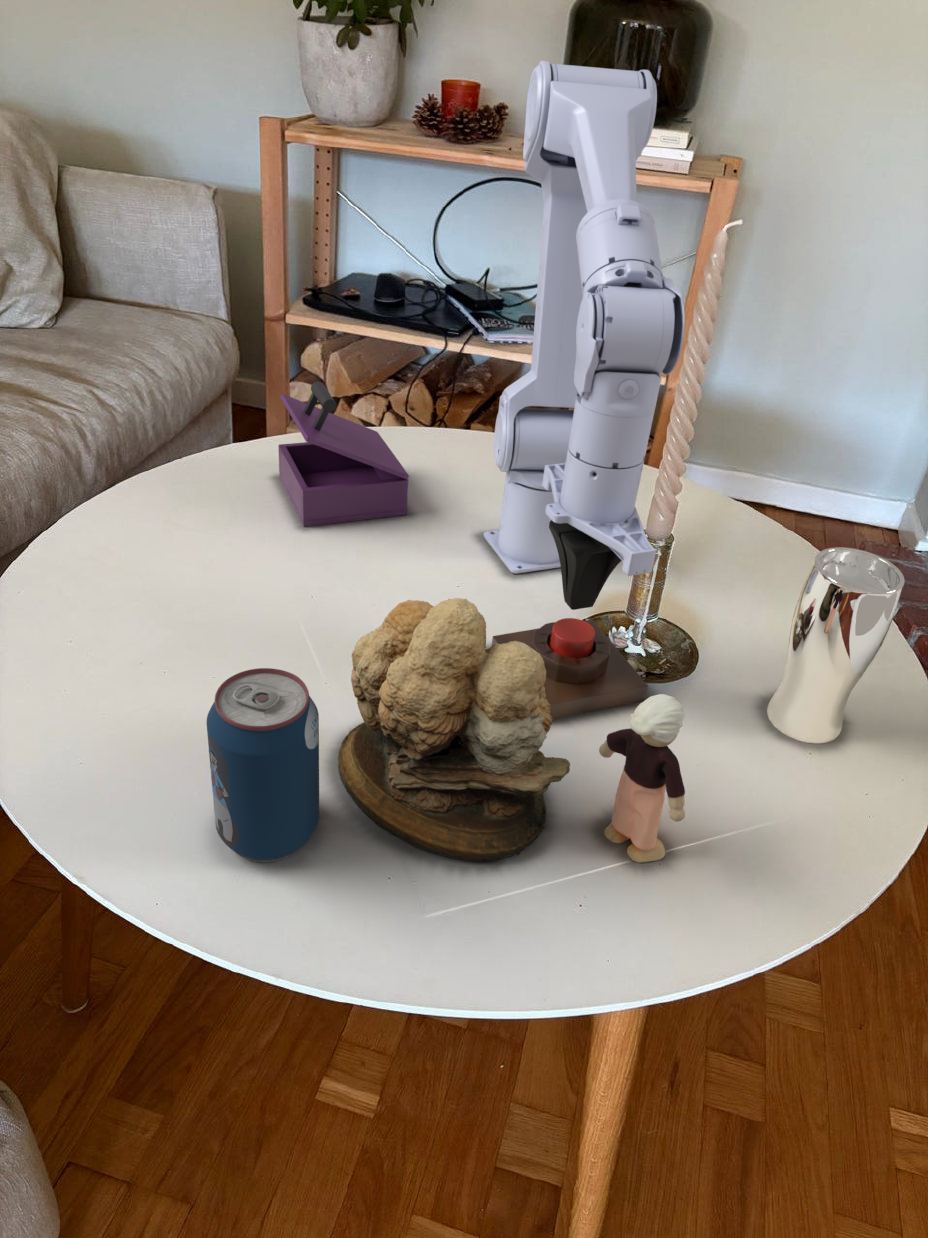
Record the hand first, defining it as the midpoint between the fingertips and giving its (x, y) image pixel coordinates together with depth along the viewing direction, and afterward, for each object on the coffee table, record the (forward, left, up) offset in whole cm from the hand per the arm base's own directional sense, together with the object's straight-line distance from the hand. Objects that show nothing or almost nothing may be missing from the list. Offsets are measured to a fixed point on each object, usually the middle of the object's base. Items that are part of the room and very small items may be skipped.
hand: (578, 603), depth 79 cm
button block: (0, 0, -8) cm, 8 cm away
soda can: (+28, +10, -8) cm, 31 cm away
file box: (+10, -36, -8) cm, 38 cm away
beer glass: (-17, +11, -8) cm, 22 cm away
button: (0, 0, -4) cm, 4 cm away
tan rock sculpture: (+15, +10, -8) cm, 20 cm away
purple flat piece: (+10, -36, -1) cm, 37 cm away
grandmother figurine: (+4, +18, -8) cm, 20 cm away
